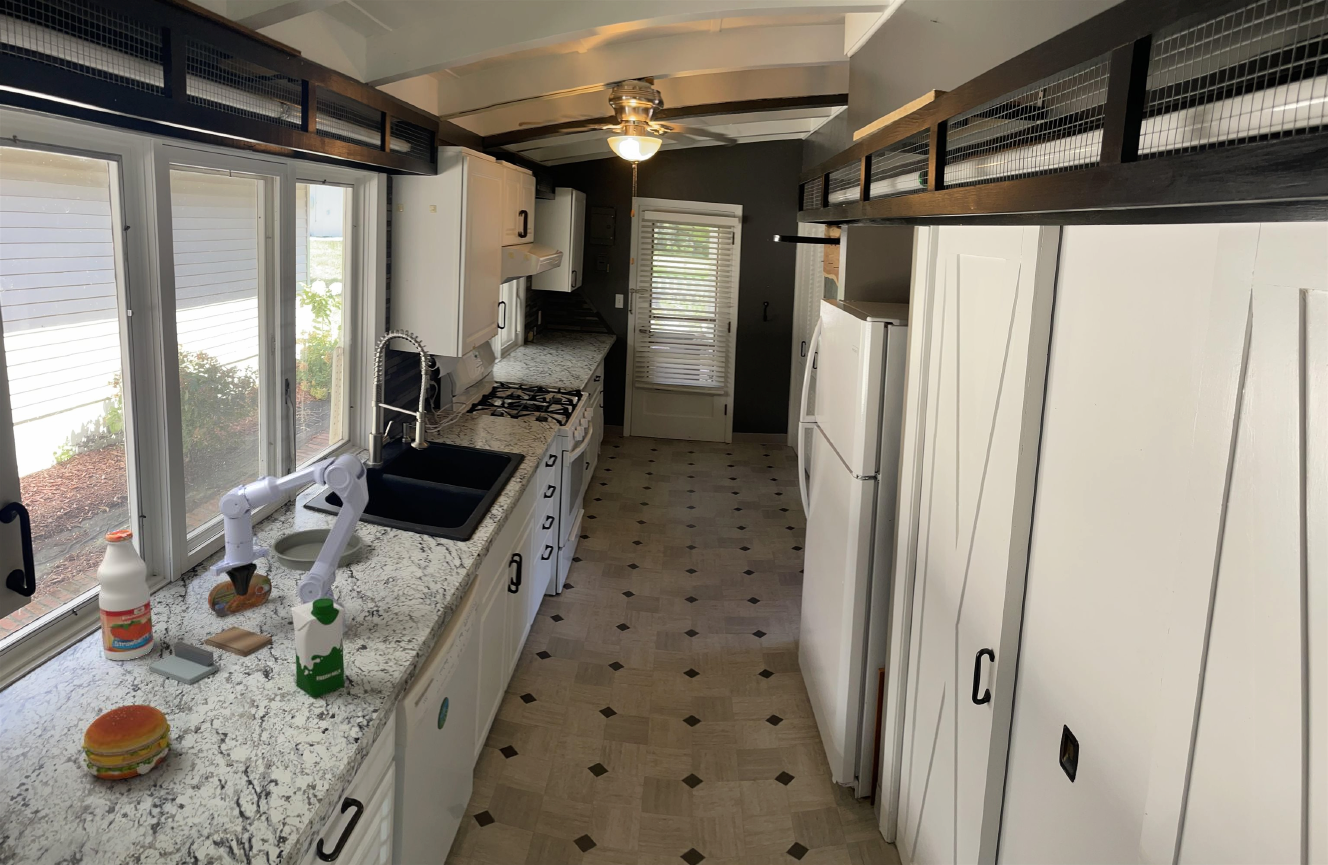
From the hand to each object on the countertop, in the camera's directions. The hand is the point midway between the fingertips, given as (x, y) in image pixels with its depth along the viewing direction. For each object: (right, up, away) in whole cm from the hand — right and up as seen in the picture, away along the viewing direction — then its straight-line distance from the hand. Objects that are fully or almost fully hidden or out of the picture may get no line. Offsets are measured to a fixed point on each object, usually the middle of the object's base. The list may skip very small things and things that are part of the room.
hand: (241, 594), depth 199 cm
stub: (-4, -13, -17) cm, 22 cm away
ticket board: (+1, -11, -4) cm, 11 cm away
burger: (+3, -21, -47) cm, 51 cm away
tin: (-7, -6, +13) cm, 16 cm away
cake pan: (-2, +1, +48) cm, 48 cm away
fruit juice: (-20, -11, -10) cm, 25 cm away
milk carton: (+26, -16, -19) cm, 36 cm away
